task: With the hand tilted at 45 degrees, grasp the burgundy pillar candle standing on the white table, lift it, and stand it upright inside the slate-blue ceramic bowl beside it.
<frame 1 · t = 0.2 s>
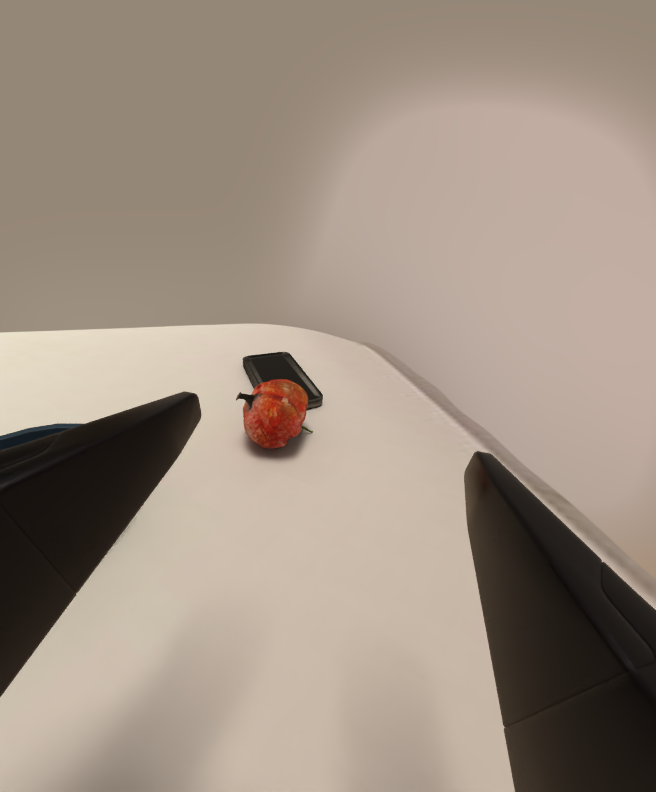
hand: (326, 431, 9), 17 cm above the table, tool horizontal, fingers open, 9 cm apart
phone: (279, 383, 43), on the table
bowl: (43, 519, 23), on the table
pomegranate: (278, 437, 33), on the table
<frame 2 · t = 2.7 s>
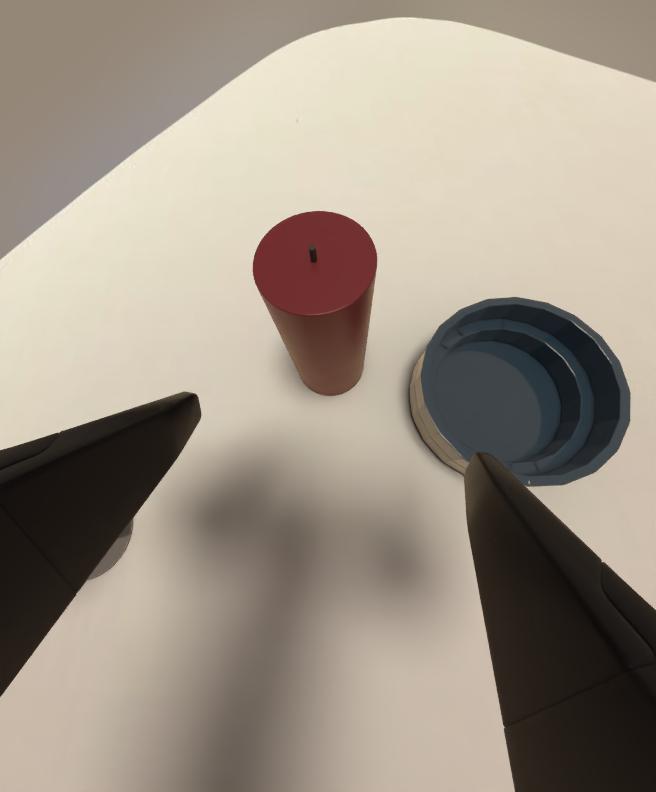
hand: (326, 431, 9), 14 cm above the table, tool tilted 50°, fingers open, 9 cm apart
candle: (330, 364, 25), on the table
wine glass: (90, 528, 23), on the table
bowl: (489, 400, 23), on the table
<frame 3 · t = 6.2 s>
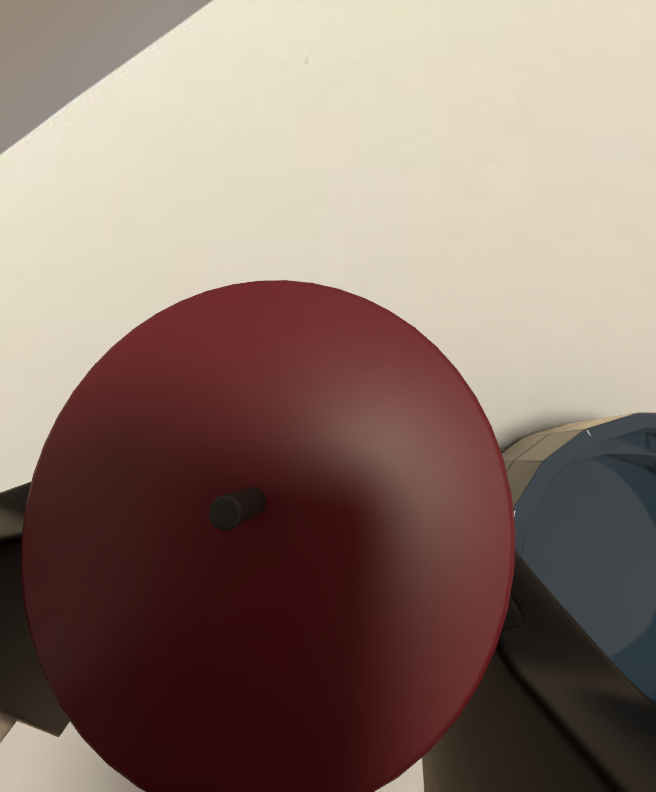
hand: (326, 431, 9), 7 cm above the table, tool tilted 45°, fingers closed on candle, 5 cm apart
candle: (331, 468, 15), on the table, touching gripper
bowl: (598, 563, 13), on the table
when the fingers open (7 cm above the table, at t = 12.7 s): candle stays where it is, resting on bowl.
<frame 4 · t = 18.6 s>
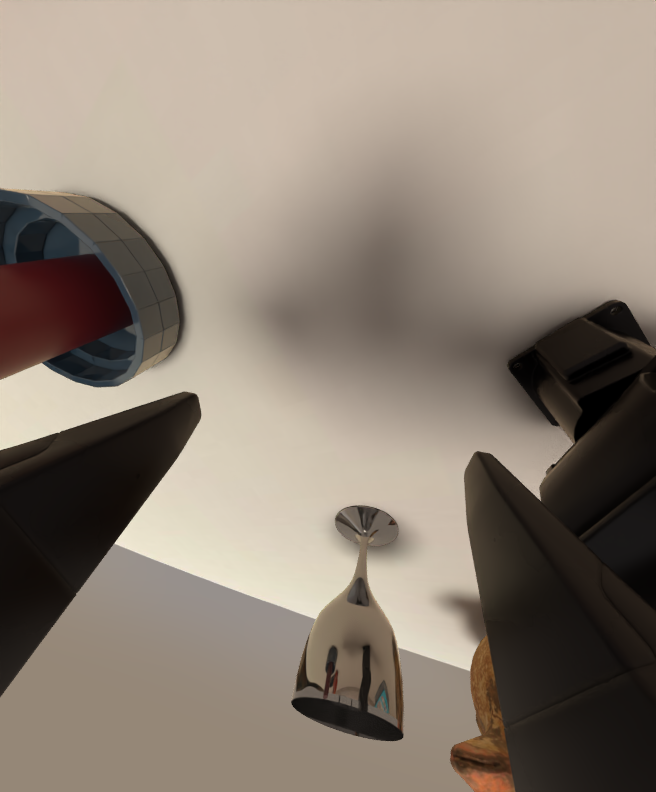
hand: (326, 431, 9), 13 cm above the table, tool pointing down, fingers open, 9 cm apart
candle: (105, 293, 23), point 1 cm above the table, touching bowl
ceramic vessel: (527, 623, 36), on the table
wine glass: (366, 525, 33), on the table
bowl: (110, 290, 23), on the table
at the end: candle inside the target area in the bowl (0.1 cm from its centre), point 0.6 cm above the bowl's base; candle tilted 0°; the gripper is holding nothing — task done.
